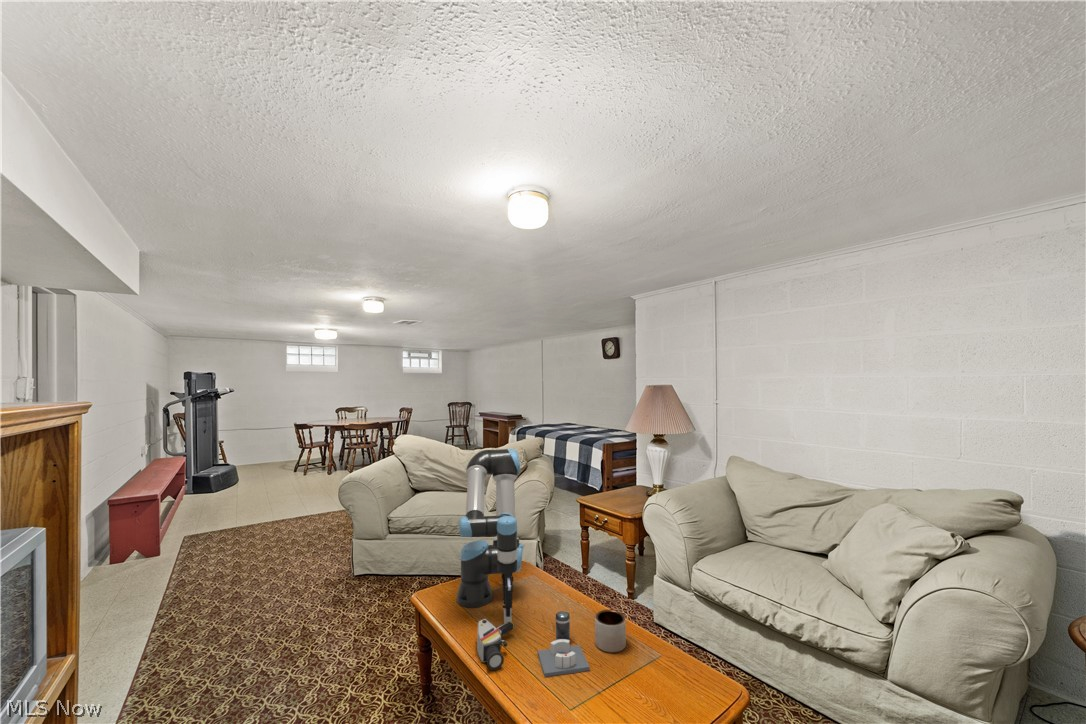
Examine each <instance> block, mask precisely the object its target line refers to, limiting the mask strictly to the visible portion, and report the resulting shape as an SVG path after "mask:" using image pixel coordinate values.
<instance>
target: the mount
mask: <svg viewBox="0 0 1086 724" xmlns="http://www.w3.org/2000/svg"><path fill="white" fill-rule="evenodd" d="M570 643H571V639H570V640H566V639H558V640H556V639H555V640H553V641H551V642H550V648H547V649H540V650H537V656H538V657H537V658H538V659H539V663H540V666H541V670H542V673H543V676H544V678H547V677H548V678H549V677H554V676H555V677H556V676H561V675H562V676H563V675H570V674H576V673H583V672H589V671H591V670H590V669H591V666H590V665H589V663H588V660H587V658H586V656H585V653H584V652H583V649H582V647H581V645H580V644H577V645H571V644H570Z"/></svg>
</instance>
